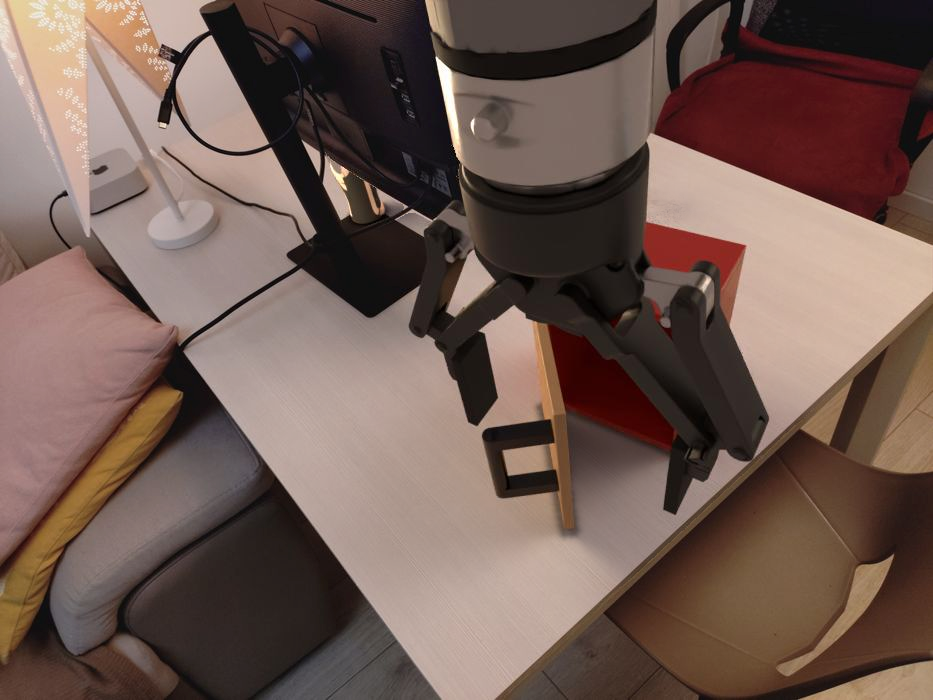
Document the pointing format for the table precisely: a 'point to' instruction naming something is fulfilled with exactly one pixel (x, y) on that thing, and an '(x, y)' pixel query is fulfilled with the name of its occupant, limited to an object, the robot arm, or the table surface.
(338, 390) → the table surface
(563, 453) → the cabinet door
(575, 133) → the robot arm
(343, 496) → the table surface
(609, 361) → the cabinet
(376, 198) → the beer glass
